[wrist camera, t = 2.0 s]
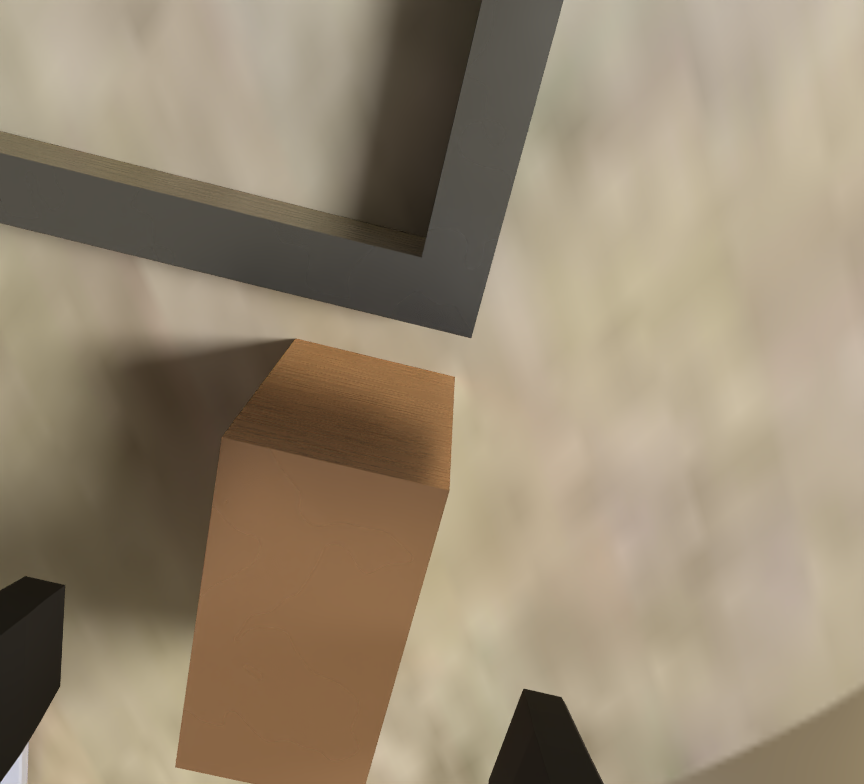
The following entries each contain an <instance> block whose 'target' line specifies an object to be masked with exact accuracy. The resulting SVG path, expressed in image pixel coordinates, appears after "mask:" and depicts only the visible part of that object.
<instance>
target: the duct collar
mask: <svg viewBox="0 0 864 784" xmlns="http://www.w3.org/2000/svg"><path fill="white" fill-rule="evenodd" d="M562 4H563V0H482V3H481V7H480V12H479V16H478V20H477V24H476V29H475V33H474V37H473V41H472V46H471V50H470V54H469V58H468V63H467V67H466V71H465V75H464V80H463V84H462V88H461V92H460V97H459V101H458V105H457V109H456V114H455V118H454V122H453V127H452V131H451V135H450V139H449V144H448V148H447V152H446V156H445V161H444V165H443V169H442V173H441V178H440V182H439V186H438V190H437V195H436V199H435V203H434V207H433V212H432V216H431V220H430V224H429V229H428V233H427V237H426V238H425V237H421V236H417V235H413V234H409V233H405V232H401V231H397V230H393V229H389V228H385V227H381V226H377V225H373V224H369V223H365V222H361V221H357V220H353V219H349V218H345V217H341V216H337V215H333V214H329V213H325V212H321V211H317V210H313V209H309V208H305V207H301V206H297V205H293V204H289V203H285V202H281V201H277V200H273V199H269V198H265V197H261V196H257V195H253V194H249V193H245V192H241V191H237V190H233V189H229V188H225V187H221V186H217V185H213V184H209V183H205V182H201V181H197V180H193V179H189V178H185V177H181V176H177V175H173V174H169V173H165V172H161V171H157V170H153V169H149V168H145V167H141V166H137V165H133V164H129V163H125V162H121V161H117V160H113V159H109V158H105V157H101V156H97V155H93V154H89V153H85V152H81V151H77V150H73V149H69V148H65V147H61V146H57V145H53V144H49V143H45V142H41V141H37V140H33V139H29V138H25V137H21V136H17V135H13V134H9V133H5V132H1V131H0V223H3V224H7V225H11V226H15V227H19V228H23V229H27V230H31V231H35V232H39V233H43V234H48V235H52V236H56V237H60V238H64V239H68V240H72V241H76V242H80V243H84V244H88V245H92V246H97V247H101V248H105V249H109V250H113V251H117V252H121V253H125V254H129V255H133V256H137V257H142V258H146V259H150V260H154V261H158V262H162V263H166V264H170V265H174V266H178V267H182V268H186V269H191V270H195V271H199V272H203V273H207V274H211V275H215V276H219V277H223V278H227V279H231V280H236V281H240V282H244V283H248V284H252V285H256V286H260V287H264V288H268V289H272V290H276V291H280V292H285V293H289V294H293V295H297V296H301V297H305V298H309V299H313V300H317V301H321V302H325V303H330V304H334V305H338V306H342V307H346V308H350V309H354V310H358V311H362V312H366V313H370V314H375V315H379V316H383V317H387V318H391V319H395V320H399V321H403V322H407V323H411V324H415V325H419V326H424V327H428V328H432V329H436V330H440V331H444V332H448V333H452V334H456V335H460V336H464V337H469V338H471V337H472V333H473V329H474V326H475V322H476V318H477V315H478V311H479V307H480V304H481V300H482V296H483V293H484V289H485V286H486V282H487V278H488V275H489V271H490V267H491V264H492V260H493V256H494V253H495V249H496V245H497V242H498V238H499V234H500V231H501V227H502V223H503V220H504V216H505V212H506V209H507V205H508V201H509V198H510V194H511V190H512V187H513V183H514V179H515V176H516V172H517V168H518V165H519V161H520V157H521V154H522V150H523V146H524V143H525V139H526V136H527V132H528V128H529V125H530V121H531V117H532V114H533V110H534V106H535V103H536V99H537V95H538V92H539V88H540V84H541V81H542V77H543V73H544V70H545V66H546V62H547V59H548V55H549V51H550V48H551V44H552V40H553V37H554V33H555V29H556V26H557V22H558V18H559V15H560V11H561V7H562Z"/></svg>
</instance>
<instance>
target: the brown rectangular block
mask: <svg viewBox="0 0 864 784" xmlns="http://www.w3.org/2000/svg"><path fill="white" fill-rule="evenodd" d="M454 382H455V377H453V376H449V375H445V374H440V373H436V372H432V371H428V370H424V369H420V368H416V367H411V366H407V365H403V364H399V363H395V362H391V361H387V360H383V359H378V358H374V357H370V356H366V355H362V354H358V353H354V352H349V351H345V350H341V349H337V348H333V347H329V346H325V345H321V344H316V343H312V342H308V341H304V340H300V339H295V340H294V341H293V343H292V344H291V345H290V347H289V348H288V349H287V351H286V352H285V353H284V355H283V356H282V357H281V359H280V360H279V361H278V363H277V364H276V365H275V367H274V368H273V369H272V371H271V372H270V373H269V375H268V376H267V377H266V379H265V380H264V382H263V383H262V384H261V386H260V387H259V388H258V390H257V391H256V392H255V394H254V395H253V396H252V398H251V399H250V400H249V402H248V403H247V404H246V406H245V407H244V408H243V410H242V411H241V412H240V414H239V415H238V416H237V418H236V419H235V420H234V422H233V423H232V424H231V426H230V427H229V428H228V430H227V431H226V432H225V434H224V435H223V436H222V439H221V446H220V453H219V460H218V467H217V475H216V482H215V489H214V496H213V503H212V510H211V517H210V524H209V531H208V538H207V546H206V553H205V560H204V567H203V574H202V581H201V588H200V595H199V602H198V609H197V617H196V624H195V631H194V638H193V645H192V652H191V659H190V666H189V673H188V680H187V688H186V695H185V702H184V709H183V716H182V723H181V730H180V737H179V744H178V751H177V759H176V766H175V767H177V768H182V769H186V770H191V771H196V772H200V773H205V774H210V775H215V776H219V777H224V778H229V779H233V780H238V781H243V782H248V783H252V784H366V780H367V777H368V773H369V770H370V766H371V763H372V759H373V756H374V752H375V749H376V745H377V742H378V738H379V735H380V731H381V728H382V724H383V721H384V717H385V714H386V710H387V707H388V703H389V700H390V696H391V693H392V689H393V686H394V682H395V679H396V675H397V672H398V668H399V665H400V661H401V658H402V654H403V651H404V647H405V644H406V640H407V637H408V633H409V630H410V626H411V623H412V619H413V616H414V612H415V609H416V605H417V602H418V598H419V595H420V591H421V588H422V584H423V581H424V577H425V574H426V570H427V567H428V563H429V560H430V556H431V553H432V549H433V546H434V542H435V539H436V535H437V532H438V528H439V525H440V521H441V518H442V514H443V511H444V507H445V504H446V500H447V497H448V493H449V487H450V466H451V445H452V424H453V403H454Z"/></svg>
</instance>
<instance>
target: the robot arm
mask: <svg viewBox="0 0 864 784" xmlns="http://www.w3.org/2000/svg"><path fill="white" fill-rule="evenodd" d="M64 598H65V585H62V584H58V583H53V582H49V581H44V580H40V579H35V578H31V577H27V576H25V577H23V578H22V579H20V580H18V581H16V582H14V583H13V584H11V585H9V586H7V587H6V588H4V589H2V590H0V784H27V776H28V745H29V740H30V738H31V737H32V735H33V733H34V731H35V730H36V728H37V726H38V725H39V723H40V721H41V719H42V718H43V716H44V714H45V712H46V710H47V709H48V707H49V705H50V703H51V701H52V700H53V698H54V696H55V694H56V693H57V691H58V689H59V687H60V679H61V659H62V639H63V619H64ZM489 784H604V783H603V781H602V779H601V777H600V775H599V773H598V771H597V769H596V767H595V765H594V763H593V761H592V759H591V757H590V755H589V753H588V751H587V749H586V747H585V744H584V742H583V740H582V738H581V736H580V734H579V732H578V730H577V728H576V725H575V723H574V721H573V719H572V717H571V715H570V713H569V710H568V708H567V706H566V704H565V703H564V701H563V699H562V697H558V696H554V695H549V694H545V693H541V692H536V691H532V690H527V689H523V691H522V694H521V697H520V699H519V702H518V705H517V707H516V710H515V712H514V715H513V718H512V720H511V723H510V726H509V728H508V731H507V734H506V736H505V739H504V741H503V744H502V747H501V749H500V752H499V755H498V757H497V760H496V763H495V765H494V768H493V771H492V773H491V776H490V778H489Z"/></svg>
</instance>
